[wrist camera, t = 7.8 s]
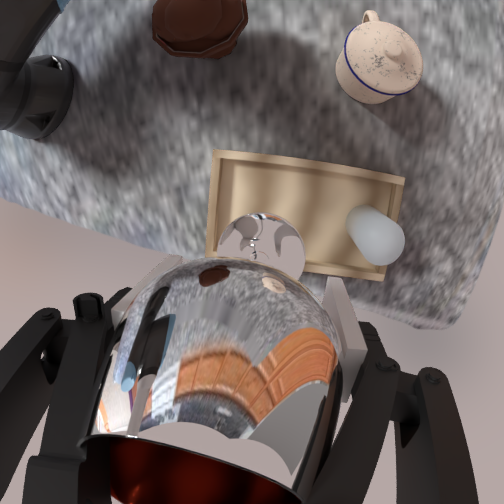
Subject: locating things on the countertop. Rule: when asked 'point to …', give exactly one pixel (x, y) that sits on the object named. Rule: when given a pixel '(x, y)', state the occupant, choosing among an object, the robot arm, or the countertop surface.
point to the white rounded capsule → (375, 235)
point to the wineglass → (222, 378)
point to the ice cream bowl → (198, 26)
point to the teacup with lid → (378, 61)
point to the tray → (302, 204)
